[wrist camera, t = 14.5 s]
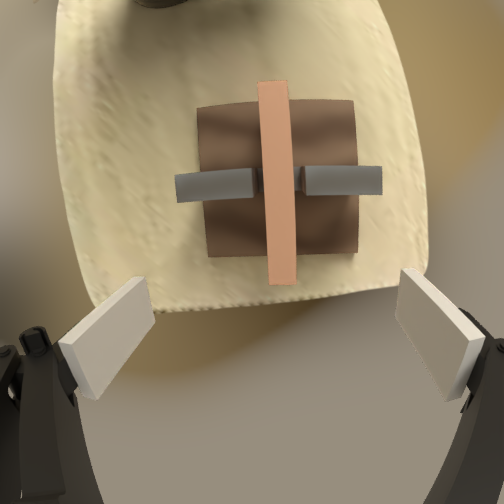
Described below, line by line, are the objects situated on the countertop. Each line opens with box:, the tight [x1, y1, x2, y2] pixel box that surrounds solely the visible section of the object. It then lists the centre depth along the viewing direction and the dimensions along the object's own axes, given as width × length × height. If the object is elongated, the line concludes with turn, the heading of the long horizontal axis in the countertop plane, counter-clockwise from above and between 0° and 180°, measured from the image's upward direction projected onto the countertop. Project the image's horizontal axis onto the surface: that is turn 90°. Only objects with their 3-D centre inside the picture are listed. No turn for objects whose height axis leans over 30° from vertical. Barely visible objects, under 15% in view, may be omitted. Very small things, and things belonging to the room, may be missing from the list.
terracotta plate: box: [257, 80, 297, 285], centre depth 29 cm, size 18×2×12 cm, turn 3°
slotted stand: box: [175, 100, 382, 257], centre depth 30 cm, size 20×20×14 cm
